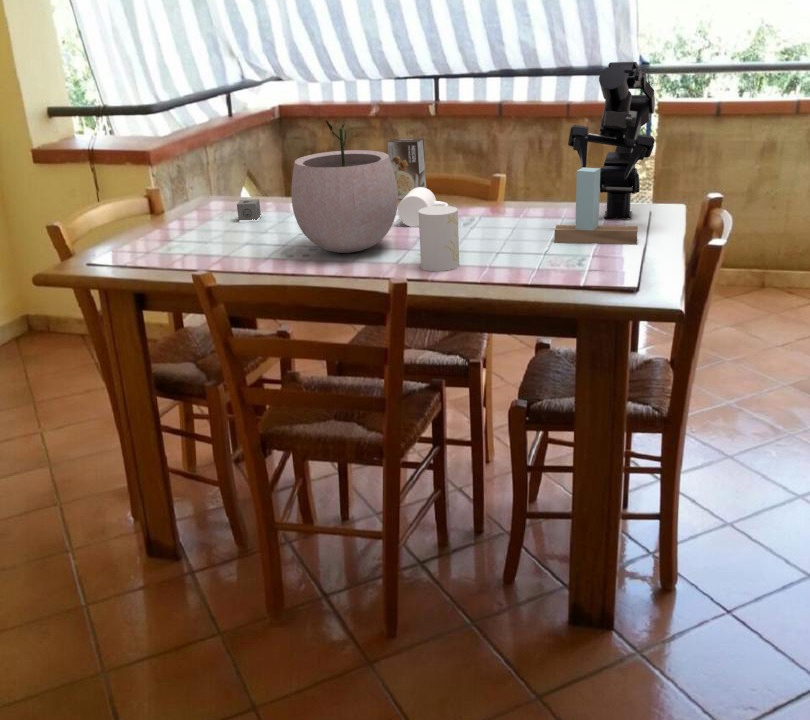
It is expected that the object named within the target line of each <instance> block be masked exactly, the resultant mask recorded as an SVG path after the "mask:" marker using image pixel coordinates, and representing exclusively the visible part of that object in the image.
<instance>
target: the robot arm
mask: <svg viewBox="0 0 810 720" xmlns="http://www.w3.org/2000/svg"><path fill="white" fill-rule="evenodd" d="M598 83H599V86H600V90H601V92H602V93H601V94H602V96H603V99H604V100H605V101H604V106H603V111H602V118H601V123H600V126H599V134H597V133H591V132H589V128H590V127H589V126H584V125H579V124H578V125H577V124H573V125H572V126H571V127H570V131H569V136H568V143H567V145H568V146H569V147H572V150H573V151H576V152H577V155H578V157H579V161H580V165H581V168H587V157H588V144H589V143H594V144H601V145H606V146H607V145H608V146H614V147H615V150H614V151H613V152H612V151H611V152H610V151H608V152H607V154H606V156H605V161H604V163H603V166H602V167H600V193H601V194H602V193H606V210H605V211H604V216H603V218H604V220H605V219H609V220H613V219H614V220H615V219H616V220H617V219H618V220H619V219H620V220H624V219H625V220H631V219H632V215H633V214H632V213H633V211H632V210H631V201H632V200H631V199H632V198H631V197H632V194H633V195H635V194H638V193H640V185H641V184H640V183H641V182H640V174H639V173H638V169H637V168H636V164H637V163H638V161H643V160H644V159H645V158H646V159H647V158H651V156H652V155H651V154H652V152H653V150H654V146H655V142H656V141H655V140H656V139H655V138H654V136H653V135H649V134H648V135H647V134H642V133H641V128H642V127H644V126H645V125H646V124H647V123H649V122H650V120H651V117H652V114H655V107H656V97H655V89H654V88H653V87H652V85H651V84H650V83H649V82H648V79H647V73H646V72H644V71H642V68H641V67H640V66H639V64H638V62H637V61H616V62H613V61H612V62H611V61H610V62H609V63H608V66H607V67H605V69H603V71H601V73H600V74H599V75H598ZM630 90H642V92H643V94H632V92H631V91H630ZM640 133H641V134H640Z"/></svg>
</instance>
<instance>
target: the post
mask: <svg viewBox="0 0 810 720" xmlns="http://www.w3.org/2000/svg"><path fill="white" fill-rule="evenodd" d="M600 169H601V167H586V168H582V167H581V168H579V169H577V170H576V182H575V183H576V188H575V190H576V192H575V224H574V225H575V229H580V230H592V231H593V230H594V229H595V228H597V227H598V226H599V225H600V224H599V223H600V221H599V219H600V218H599V217H600V197H601V196H600Z"/></svg>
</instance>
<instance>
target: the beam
mask: <svg viewBox="0 0 810 720" xmlns="http://www.w3.org/2000/svg"><path fill="white" fill-rule="evenodd" d="M638 227H639V226H638V225H608V224H607V225H605V224H604V225H603V224H602V225H600V224H599V226H598V227H597V228H595V229H594V230H593V231H592V230H580V229H575V224H556V225H555V228H554V235H553V236H554V239H553V240H554V241H553V242H554V244H592V243H612V244H611V245H637V243H638ZM613 243H614V244H613Z"/></svg>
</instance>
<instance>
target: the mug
mask: <svg viewBox="0 0 810 720" xmlns="http://www.w3.org/2000/svg"><path fill="white" fill-rule="evenodd" d="M430 206H450V205H449V203H447V202H444V201H438V200H437V199H436V197H435V194H434V192H432V190H430V189H428V188H427V187H426V188H423V187H417V188H414V189H413V190H411V191H410V192H409V193H408V194H407V195H406V196H405V197H404V199H401V200H400V202H399V203H398V206H397V213H398V216H399V217H398V218H399V219H400V221H401V222H402V223H403V224H404V225H405V226H408V227H410V228H419V212H418V211H419V210H420V209H422V208H425V207H430Z"/></svg>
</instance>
